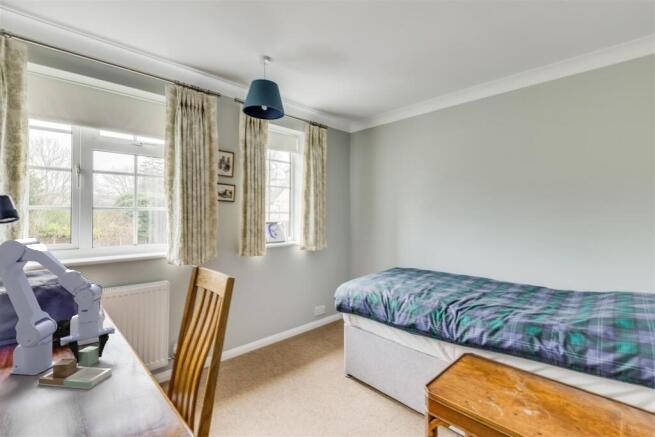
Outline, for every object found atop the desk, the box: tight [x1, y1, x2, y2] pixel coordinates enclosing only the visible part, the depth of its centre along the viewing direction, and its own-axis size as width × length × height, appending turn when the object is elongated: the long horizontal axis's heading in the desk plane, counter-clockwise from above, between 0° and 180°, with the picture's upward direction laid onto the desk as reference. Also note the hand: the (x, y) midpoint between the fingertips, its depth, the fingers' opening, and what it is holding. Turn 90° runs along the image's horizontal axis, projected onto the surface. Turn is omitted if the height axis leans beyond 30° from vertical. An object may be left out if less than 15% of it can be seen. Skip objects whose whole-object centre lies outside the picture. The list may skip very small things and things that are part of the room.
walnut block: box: [52, 357, 78, 378], centre depth 92 cm, size 4×4×5 cm
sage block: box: [77, 345, 100, 367], centre depth 102 cm, size 4×4×5 cm
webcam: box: [52, 318, 71, 349], centre depth 117 cm, size 8×8×10 cm
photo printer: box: [69, 311, 104, 347], centre depth 118 cm, size 10×4×12 cm, turn 129°
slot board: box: [38, 365, 113, 390], centre depth 92 cm, size 17×8×2 cm, turn 83°
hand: (88, 359), depth 102 cm, fingers closed on sage block, 6 cm apart
